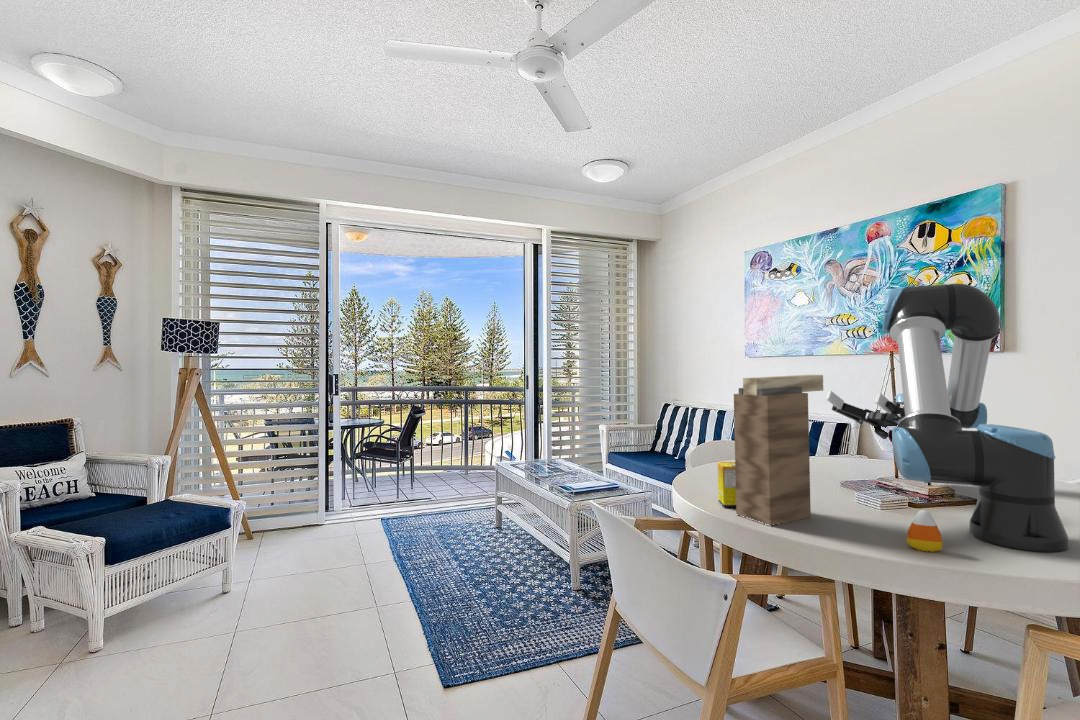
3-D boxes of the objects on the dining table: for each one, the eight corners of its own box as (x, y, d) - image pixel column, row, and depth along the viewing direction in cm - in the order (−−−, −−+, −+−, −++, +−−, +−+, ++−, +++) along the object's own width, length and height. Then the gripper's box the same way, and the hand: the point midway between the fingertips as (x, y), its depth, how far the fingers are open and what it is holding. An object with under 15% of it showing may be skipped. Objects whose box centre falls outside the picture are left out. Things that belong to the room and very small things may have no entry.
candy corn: (941, 549, 104) (940, 509, 104) (945, 554, 102) (944, 513, 102) (905, 545, 107) (904, 506, 107) (907, 550, 104) (907, 510, 104)
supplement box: (740, 501, 141) (739, 461, 141) (747, 508, 135) (746, 466, 135) (717, 501, 142) (716, 461, 142) (723, 508, 136) (722, 466, 136)
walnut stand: (810, 516, 127) (807, 386, 127) (770, 526, 120) (767, 389, 120) (775, 506, 136) (772, 385, 136) (736, 515, 129) (733, 387, 129)
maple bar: (823, 390, 134) (823, 374, 134) (756, 395, 123) (756, 378, 123) (809, 389, 137) (808, 374, 137) (743, 394, 127) (742, 378, 127)
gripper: (938, 447, 138) (896, 412, 130) (847, 435, 161) (806, 405, 152) (945, 422, 140) (904, 385, 132) (854, 413, 162) (814, 382, 154)
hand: (851, 396), depth 142 cm, fingers open, 13 cm apart
